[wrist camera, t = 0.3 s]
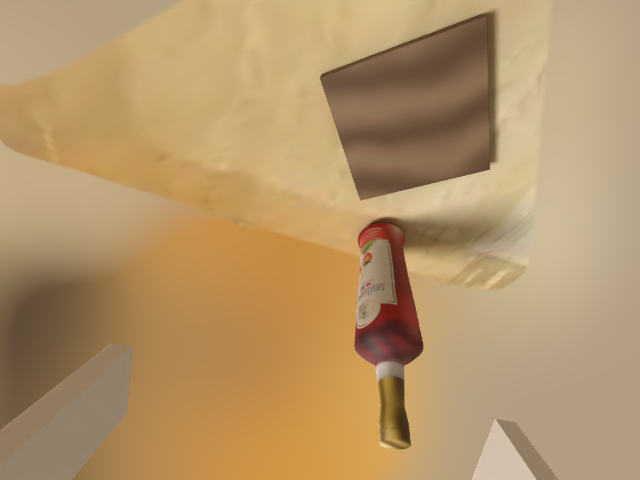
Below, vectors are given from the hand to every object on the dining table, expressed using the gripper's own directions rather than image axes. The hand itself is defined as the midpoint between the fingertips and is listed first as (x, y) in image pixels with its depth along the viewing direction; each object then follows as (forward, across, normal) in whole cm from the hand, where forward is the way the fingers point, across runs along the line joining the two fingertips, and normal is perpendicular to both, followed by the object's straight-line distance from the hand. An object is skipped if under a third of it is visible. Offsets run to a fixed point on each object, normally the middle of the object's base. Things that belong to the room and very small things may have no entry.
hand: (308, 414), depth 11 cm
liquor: (+38, +9, +1) cm, 39 cm away
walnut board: (+29, +7, +16) cm, 34 cm away
